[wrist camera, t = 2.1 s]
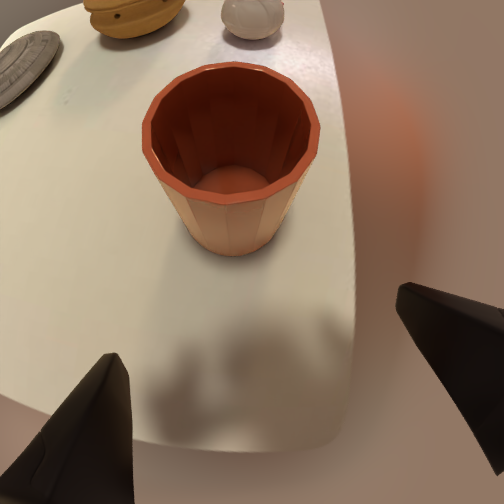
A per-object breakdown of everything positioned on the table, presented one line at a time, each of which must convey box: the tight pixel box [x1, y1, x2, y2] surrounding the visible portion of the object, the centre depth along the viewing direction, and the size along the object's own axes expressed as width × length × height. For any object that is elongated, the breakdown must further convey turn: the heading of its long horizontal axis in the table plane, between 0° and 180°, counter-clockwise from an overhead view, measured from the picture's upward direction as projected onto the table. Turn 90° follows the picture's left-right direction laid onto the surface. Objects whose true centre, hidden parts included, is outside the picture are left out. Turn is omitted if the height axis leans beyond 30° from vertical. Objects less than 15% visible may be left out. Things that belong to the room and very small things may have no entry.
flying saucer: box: [0, 31, 60, 109], centre depth 21 cm, size 15×15×6 cm
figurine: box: [221, 0, 284, 40], centre depth 22 cm, size 6×7×8 cm
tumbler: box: [142, 61, 320, 256], centre depth 16 cm, size 7×7×11 cm
